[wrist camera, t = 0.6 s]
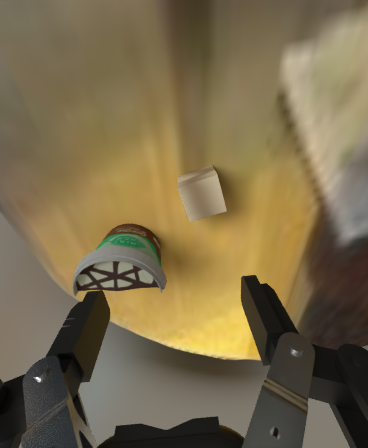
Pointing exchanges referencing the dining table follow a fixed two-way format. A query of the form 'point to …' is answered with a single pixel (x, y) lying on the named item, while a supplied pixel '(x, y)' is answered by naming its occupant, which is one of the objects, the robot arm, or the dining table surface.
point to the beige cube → (201, 193)
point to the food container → (122, 262)
